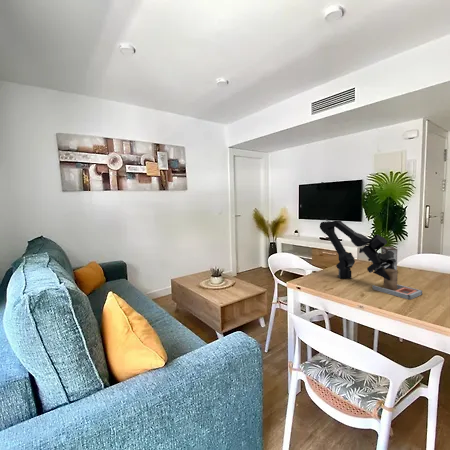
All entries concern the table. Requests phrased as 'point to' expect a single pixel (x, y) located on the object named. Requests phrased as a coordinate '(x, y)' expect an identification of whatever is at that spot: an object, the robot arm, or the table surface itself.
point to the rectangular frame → (406, 291)
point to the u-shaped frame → (395, 293)
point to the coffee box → (394, 250)
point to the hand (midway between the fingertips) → (393, 278)
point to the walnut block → (393, 276)
